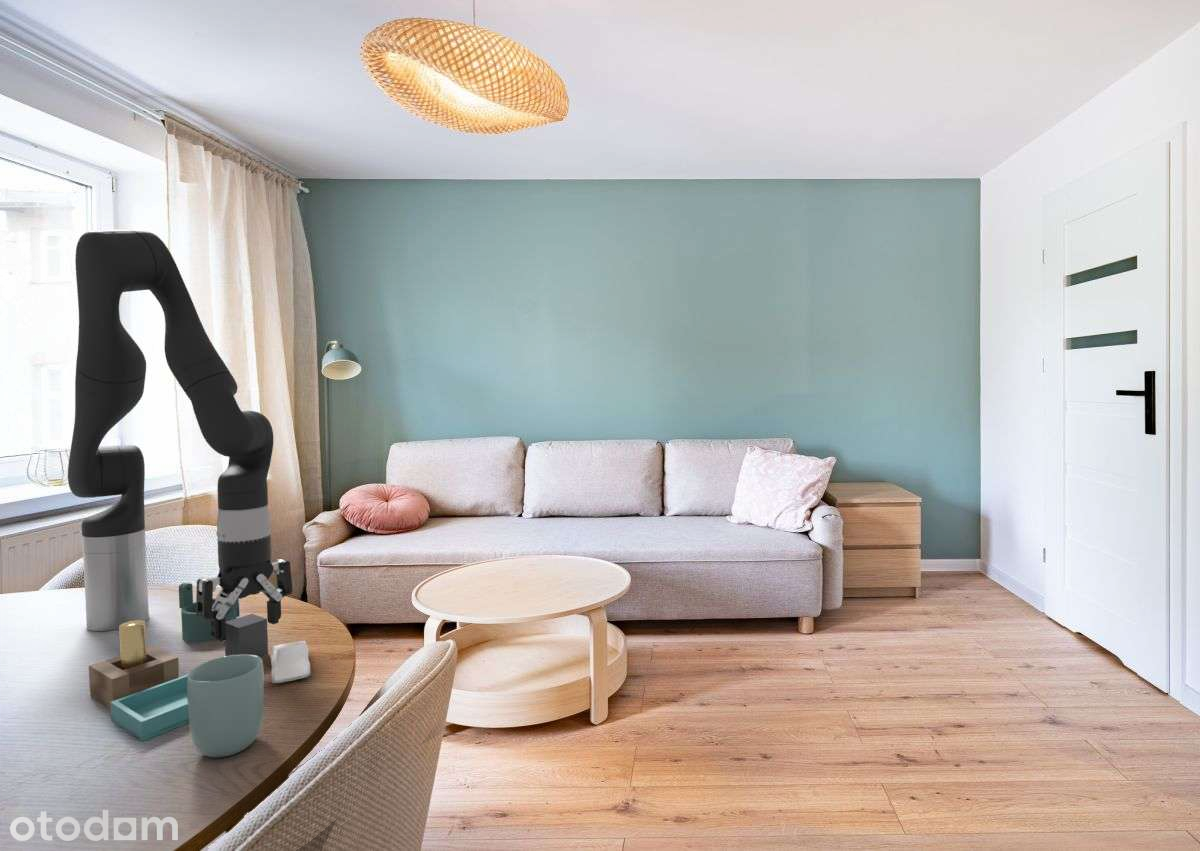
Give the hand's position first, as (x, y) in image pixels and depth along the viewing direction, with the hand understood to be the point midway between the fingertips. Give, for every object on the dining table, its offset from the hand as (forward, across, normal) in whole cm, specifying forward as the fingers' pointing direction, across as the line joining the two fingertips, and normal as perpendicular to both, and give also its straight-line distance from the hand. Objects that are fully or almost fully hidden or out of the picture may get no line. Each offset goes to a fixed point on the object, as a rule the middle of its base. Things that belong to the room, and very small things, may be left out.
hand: (247, 631), depth 101 cm
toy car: (+4, +1, -11) cm, 12 cm away
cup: (+4, -16, -25) cm, 29 cm away
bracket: (+4, +2, +15) cm, 16 cm away
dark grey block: (+4, 0, 0) cm, 4 cm away
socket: (+4, -15, +1) cm, 16 cm away
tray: (+4, -14, -10) cm, 18 cm away
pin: (+4, -15, +1) cm, 16 cm away
